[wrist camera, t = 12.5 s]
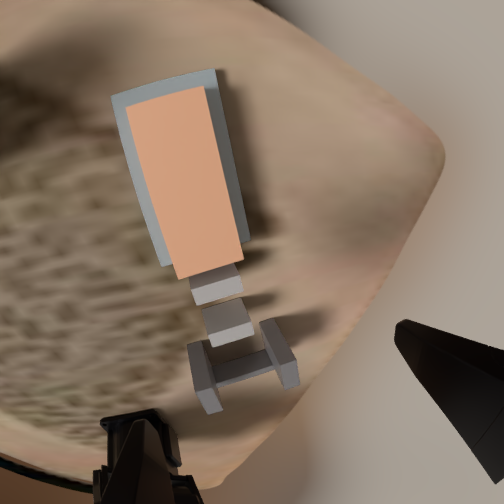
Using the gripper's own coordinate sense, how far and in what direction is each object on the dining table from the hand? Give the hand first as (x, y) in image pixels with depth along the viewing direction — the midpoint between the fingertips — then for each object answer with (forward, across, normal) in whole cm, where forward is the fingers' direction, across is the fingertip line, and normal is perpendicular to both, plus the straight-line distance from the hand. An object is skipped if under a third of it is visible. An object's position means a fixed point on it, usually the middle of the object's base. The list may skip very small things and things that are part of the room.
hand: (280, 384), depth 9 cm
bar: (+12, +1, -4) cm, 13 cm away
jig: (+13, +1, +6) cm, 14 cm away
